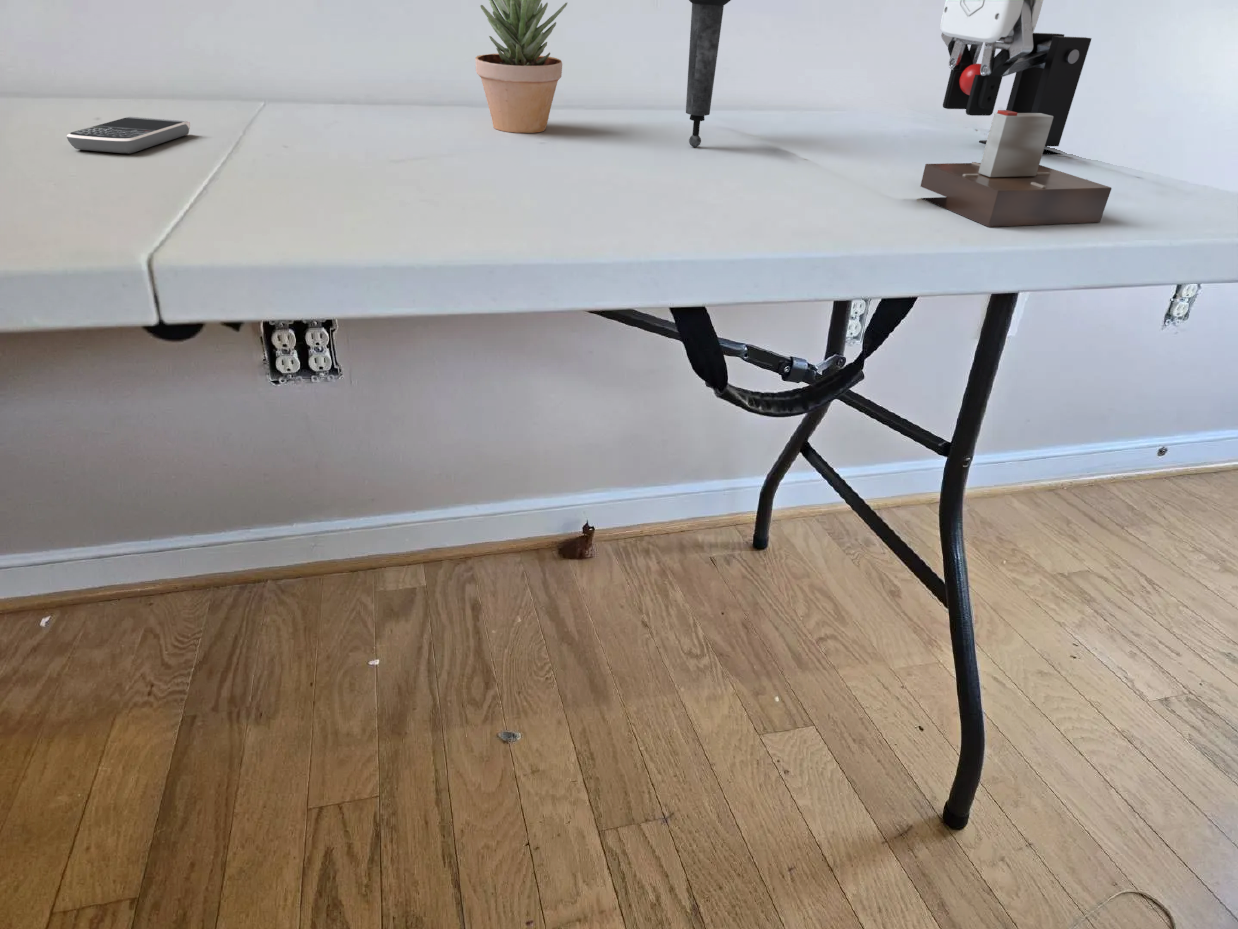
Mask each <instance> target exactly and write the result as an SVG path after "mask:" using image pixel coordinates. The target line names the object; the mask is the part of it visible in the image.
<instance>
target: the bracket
mask: <svg viewBox="0 0 1238 929" xmlns="http://www.w3.org/2000/svg"><path fill="white" fill-rule="evenodd" d="M1049 40H1052V41H1051V45H1050V48H1049V52H1048V55H1047V59H1046V62H1045V66H1044V68H1038V67H1036V66H1033V67H1031V68H1028V69H1025V70H1022V71H1019V72H1016V73H1015V75H1014V79H1013V82H1012V86H1011V90H1010V94H1009V97H1008V100H1007V104H1006V108H1005V110H1009V111H1013V112H1017V113H1042V114H1046V115H1050V116H1053V120H1052V124H1051V127H1050V130H1049V134H1048V137H1047V140H1046V144H1045V147H1059V146H1060V144H1061V139H1062V137H1063V133H1064V129H1065V127H1066V123H1067V120H1068V117H1069V114H1070V110H1071V107H1072V105H1073V104H1072V103H1073V102H1074V101H1073V100H1074V97H1075V94H1076V91H1077V88H1078V84H1079V81H1080V78H1081V75H1082V71H1083V68H1084V64H1085V61H1086V58H1087V55H1088V52H1089V49H1090V45H1091V42H1092V37H1086V36H1085V37H1083V36H1065V34H1063V33H1050V32H1033V50H1032V51H1031V52H1030V53H1029V54H1027V55H1025V56H1023V57H1026V56H1029V55H1032V54H1035V53H1036V51H1037V44H1040V43H1043V42H1046V41H1049ZM1023 57H1022V58H1023ZM986 142H987V139H986V140H983V139H982V140H979V141H978V143H979V144H983V145H986ZM1045 155H1050V156H1051V155H1053V156H1054V155H1062V153H1060V152H1057V151H1054V150H1050V149H1047V148H1044V150H1043V154H1042V156H1045Z"/></svg>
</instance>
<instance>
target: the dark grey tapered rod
mask: <svg viewBox="0 0 1238 929" xmlns="http://www.w3.org/2000/svg"><path fill="white" fill-rule="evenodd" d="M688 1H689V2H690V3H691V17H690V30H689V32H690V35H689V50H688V67H687V82H686V84H687V85H686V101H685V113H686V114H687V115H689V120H690V121H693V122H692V124H693V125H692V134H691V136H690V137H689V138H688V143H689V145H690V146H691V147H693V148H697V147H699V146H700V145H701V144H702V139H701V136H700V126H701V122H704V121H705V120H706V118H705V116H709V115H710V113H711V106H712V99H713V90H714V83H715V75H716V67H717V60H718V53H719V46H720V38H721V32H722V31H721V29H722V24H723V23H722V22H723V21H722V20H723V14H724V9H725V8H724V7H725V6H726V5H727V4H728V3H729V2H731V1H732V0H688Z"/></svg>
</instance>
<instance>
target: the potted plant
mask: <svg viewBox="0 0 1238 929" xmlns="http://www.w3.org/2000/svg"><path fill="white" fill-rule="evenodd" d="M488 2H489V4H490V7H491V8H492V13H491V12H490V11H489V10H488V9H487V8H486V7H485V6H484V4H479V5H480V6H479V7H480V9H481V10H482V12H483V13H484V15H485V16H486V18H487V22H488V23H489V25H490V26H491V27H492V29H493V30H494V32H495V33H496V35H497V36H498V37H499V39H500V40H501V41H502V42H503V44H504V45H505V46H503V45H502V44H500V43H499V42H498V41H497V40H496V39H495V38H493V36H491V35H488V38H489V39H490V41H491V42H492V43H493V45H494V46H495V49H496V51H497V53H487V54H479V55H477V56H476V57H475V71H476V75H478V77H479V78H480V80H481V84H482V87H483V92H484V94H485V98H486V102H487V106H488V109H489V114H490V117H491V121H492V122H491V123H492V126H493V128H494V129H495V130H497V131H500V132H501V131H502V132H506V133H507V132H508V133H516V134H518V133H519V134H535V133H536V134H537V133H540V132H544V131H545V130H546V128H547V125H548V121H549V117H550V112H551V108H552V104H553V100H554V97H555V93H556V89H557V86H558V82H559V80H560V79H561V78H562V75H563V74H562V73H563V61H562V59H559V58H557V57H553V56H550V55H551V51H549V52H548V53H547V54H546V55H542V54H543V53H544V51H545V49H546V48H547V46H548V41H546V40H547V39H548V38H549V36H550V35H551V34H552V32H553V31H554V28H555V27H556V26H557V21H555V22H554V20H555V19H556V18H557V17H558V16H559V15H560V14H561V13H563V10H564V9H565V8H566V7H567V6H568V2H565V3H564V4H562V6H561V7H560V8H559V9H558V10H557V11H555V12H554V13H553V14H552V15H551V16H550V17H548V18H547V20H546V21H544V22H543V23H542V24H540V22H541V20H542V18H543V17H544V15H545V13H546V11H547V8H548V5H549V3H548V2H546V3H545V4H544V5H543V2H542V0H488ZM552 22H554V23H552ZM551 23H552V24H551ZM539 24H540V25H539ZM550 24H551V25H550ZM538 25H539V26H538ZM549 25H550V26H549ZM548 26H549V27H548ZM547 27H548V28H547ZM546 28H547V29H546ZM545 29H546V30H545ZM543 31H544V32H543Z"/></svg>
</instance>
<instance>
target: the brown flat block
mask: <svg viewBox="0 0 1238 929" xmlns="http://www.w3.org/2000/svg"><path fill="white" fill-rule="evenodd" d="M980 165H981V162H976V161H972V162H963V163H962V162H957V163H955V162H953V163H952V162H951V163H949V162H947V163H925V165H924V168H923V173H922V176H921V182H920V188H923V189H926V190H928V191H931V192H933V193H936V194H938V195H940V196H939V197H921V199H922V200H923V201H927V202H929V203H931V204H933V205H936V206H939V207H941V208H943V209H945V210H948V211H950V212H953V213H955V214H957V215H959V216H962V217H964V218H967V219H968V220H972V221H974V222H976V223H978V224H980V225H983V226H985V227H987V228H994V227H1017V226H1018V227H1019V226H1022V227H1023V226H1040V225H1041V226H1042V225H1043V226H1045V225H1066V224H1087V223H1090V224H1091V223H1100V222H1101V221H1102V218H1103V215H1104V213H1105V209H1106V206H1107V203H1108V200H1109V197H1110V194H1111V192H1112V189H1113V188H1112V187H1110V186H1108V185H1105V184H1102V183H1098V182H1095V181H1092V180H1090V179H1086V178H1083V177H1080V176H1076V175H1073V174H1071V173H1070V174H1069V173H1067V172H1064V171H1060V170H1057V169H1054V168H1051V167H1048V166H1045V165H1041V164H1039V167H1038V170H1037V174H1036V176H1024V177H988V176H985V175H982V174H979V173H978V172H979V169H980ZM941 196H942V197H941Z"/></svg>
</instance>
